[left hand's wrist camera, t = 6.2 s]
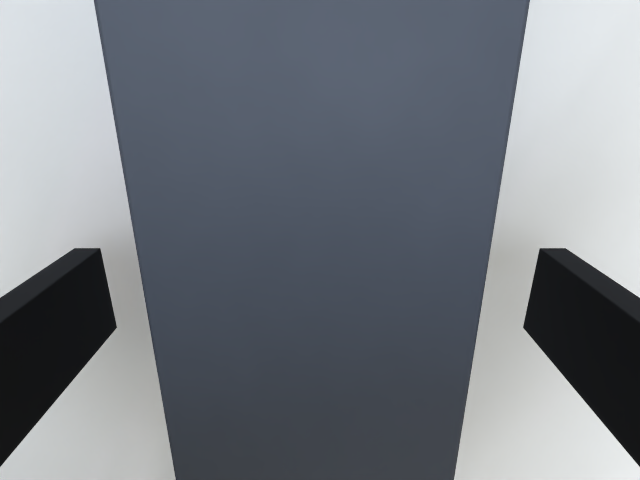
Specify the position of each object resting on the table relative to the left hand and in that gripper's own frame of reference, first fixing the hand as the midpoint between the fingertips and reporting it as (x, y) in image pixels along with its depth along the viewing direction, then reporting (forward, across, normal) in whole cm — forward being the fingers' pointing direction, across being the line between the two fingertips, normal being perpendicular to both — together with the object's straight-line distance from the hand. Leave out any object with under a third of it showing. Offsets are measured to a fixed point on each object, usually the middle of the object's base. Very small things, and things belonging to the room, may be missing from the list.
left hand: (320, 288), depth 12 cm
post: (+3, 0, -30) cm, 30 cm away
